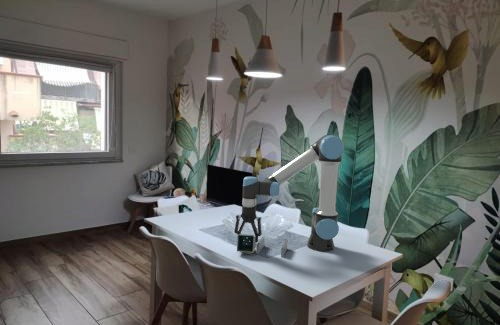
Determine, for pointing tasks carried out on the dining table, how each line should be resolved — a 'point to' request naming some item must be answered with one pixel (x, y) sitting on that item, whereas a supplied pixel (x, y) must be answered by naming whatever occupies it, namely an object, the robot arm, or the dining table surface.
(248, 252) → the cork mat
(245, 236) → the flower pot
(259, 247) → the grey holder
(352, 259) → the dining table surface
